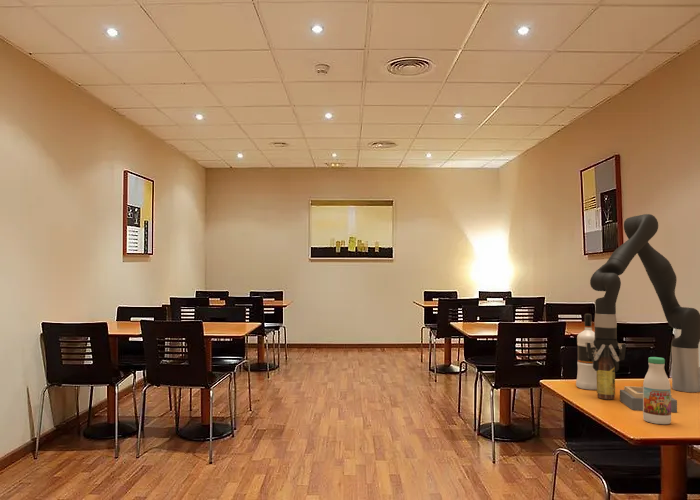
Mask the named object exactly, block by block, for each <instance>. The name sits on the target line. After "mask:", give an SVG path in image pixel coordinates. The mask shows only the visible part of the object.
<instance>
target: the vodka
mask: <svg viewBox="0 0 700 500" xmlns="http://www.w3.org/2000/svg"><path fill="white" fill-rule="evenodd" d="M576 336H577V337H576V345H577V362H576V364H577V372H576V373H577V375H576V381H575V385H576V387H577V388H578V389H582V390H587V391H588V390H589V391H597V371H595V369H593V360H592V359H589V358H588V357H587V351H586V342H589V343H590V342H594V340H595V331H593V329H592V314H591V313H585V314H584V330H582V331H581V332H579V333H578V334H577V335H576ZM595 351H596V347H595V346H594V345H593V347H592V348H591V352H592V356H593V355H594V353H595ZM599 358H600V356H599V357H598V359H599ZM598 359H597V361H598Z"/></svg>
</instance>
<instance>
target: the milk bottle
mask: <svg viewBox="0 0 700 500" xmlns="http://www.w3.org/2000/svg"><path fill="white" fill-rule="evenodd" d="M647 362H648V369H647V372H646V374H645V376H644V378H643V383H642V387H643V411H642V415H643V416H642V417H643V421H645V422H647V423H651V424H656V425H670V424H671V422H672V412H671V395H672V393H671V390H672V389H671V388H672V386H671V383H670V380H669V377H668V375H667V373H666V371H665V366H666V365H665V363H666V359H665V358H664V357H658V356H650V357H648V360H647Z"/></svg>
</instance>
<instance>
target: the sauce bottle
mask: <svg viewBox="0 0 700 500" xmlns="http://www.w3.org/2000/svg"><path fill="white" fill-rule="evenodd" d="M609 349H610V348H609V345H605V347H604V352H603V353H601V354H600V356H599V359H598V371H597V390H596V393H597V395H596V396H597V397H598V399H601V400H614V399H615V398H616V397H615V396H616V372H615V366H614V359H613V357H612V355H611V354H610V352H609Z"/></svg>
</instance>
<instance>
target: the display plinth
mask: <svg viewBox="0 0 700 500" xmlns="http://www.w3.org/2000/svg"><path fill="white" fill-rule="evenodd" d="M619 401H620V402H621V403H623V404H624V405H625V406H626V407H628V408H629V409H631V411H642V412H643V386H632V385H630V386H629V385H628V386H626V385H624V386H623V389H619ZM671 413H678V400H677V399H676V398H673V395H672V394H671Z"/></svg>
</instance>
